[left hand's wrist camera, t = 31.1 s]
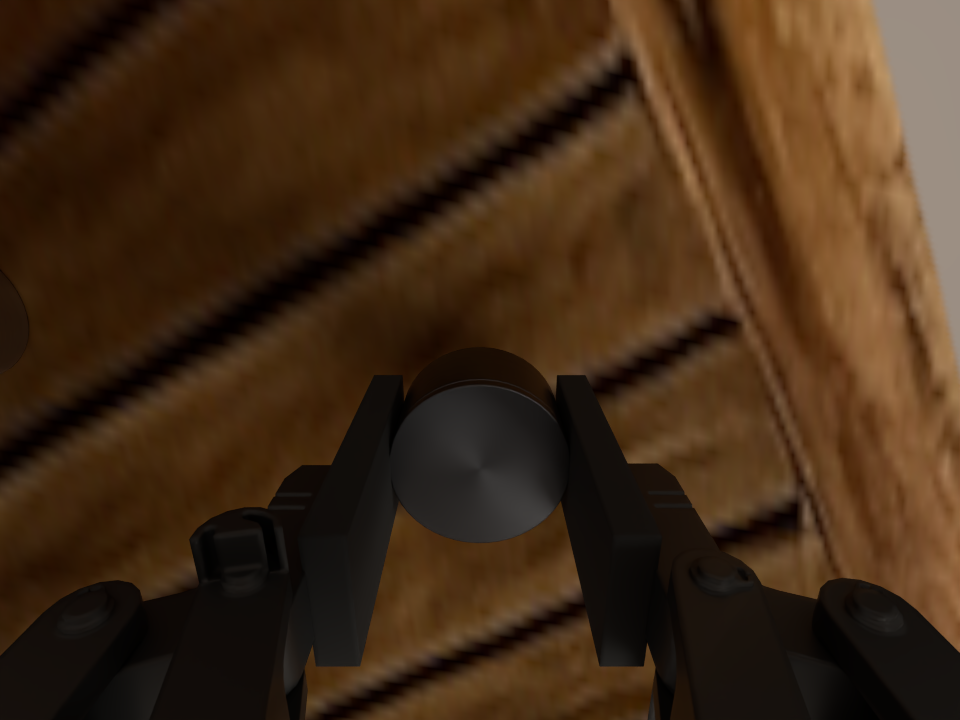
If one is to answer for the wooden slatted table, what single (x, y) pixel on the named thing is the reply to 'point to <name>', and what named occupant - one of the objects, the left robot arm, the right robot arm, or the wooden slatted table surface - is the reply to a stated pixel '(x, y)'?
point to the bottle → (11, 325)
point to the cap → (479, 447)
